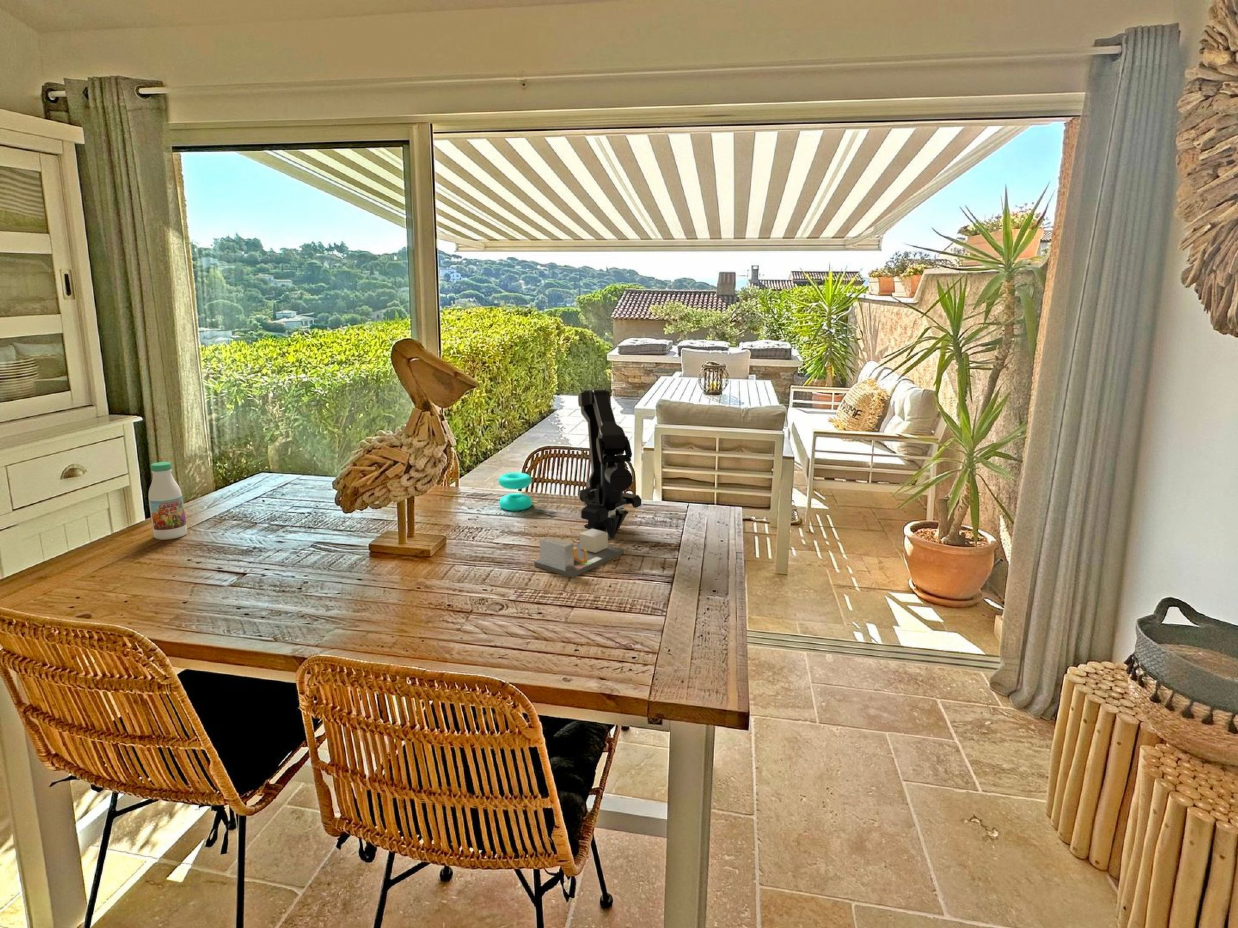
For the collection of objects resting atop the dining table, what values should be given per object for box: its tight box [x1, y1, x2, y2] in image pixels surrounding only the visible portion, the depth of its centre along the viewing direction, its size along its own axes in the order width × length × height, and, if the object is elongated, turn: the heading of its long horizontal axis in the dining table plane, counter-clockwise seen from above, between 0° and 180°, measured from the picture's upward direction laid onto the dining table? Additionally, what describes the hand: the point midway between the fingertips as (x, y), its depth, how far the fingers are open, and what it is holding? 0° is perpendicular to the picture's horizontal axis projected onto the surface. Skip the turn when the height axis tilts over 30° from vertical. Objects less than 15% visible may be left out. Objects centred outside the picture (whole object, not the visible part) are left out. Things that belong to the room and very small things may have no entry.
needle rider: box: [574, 547, 587, 564], centre depth 176 cm, size 2×8×4 cm, turn 53°
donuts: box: [498, 472, 533, 512], centre depth 222 cm, size 10×10×10 cm
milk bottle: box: [147, 461, 188, 540], centre depth 193 cm, size 8×8×20 cm
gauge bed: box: [533, 536, 624, 579], centre depth 180 cm, size 20×12×7 cm, turn 143°
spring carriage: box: [579, 528, 609, 553], centre depth 184 cm, size 5×5×4 cm
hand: (611, 538), depth 190 cm, fingers closed
